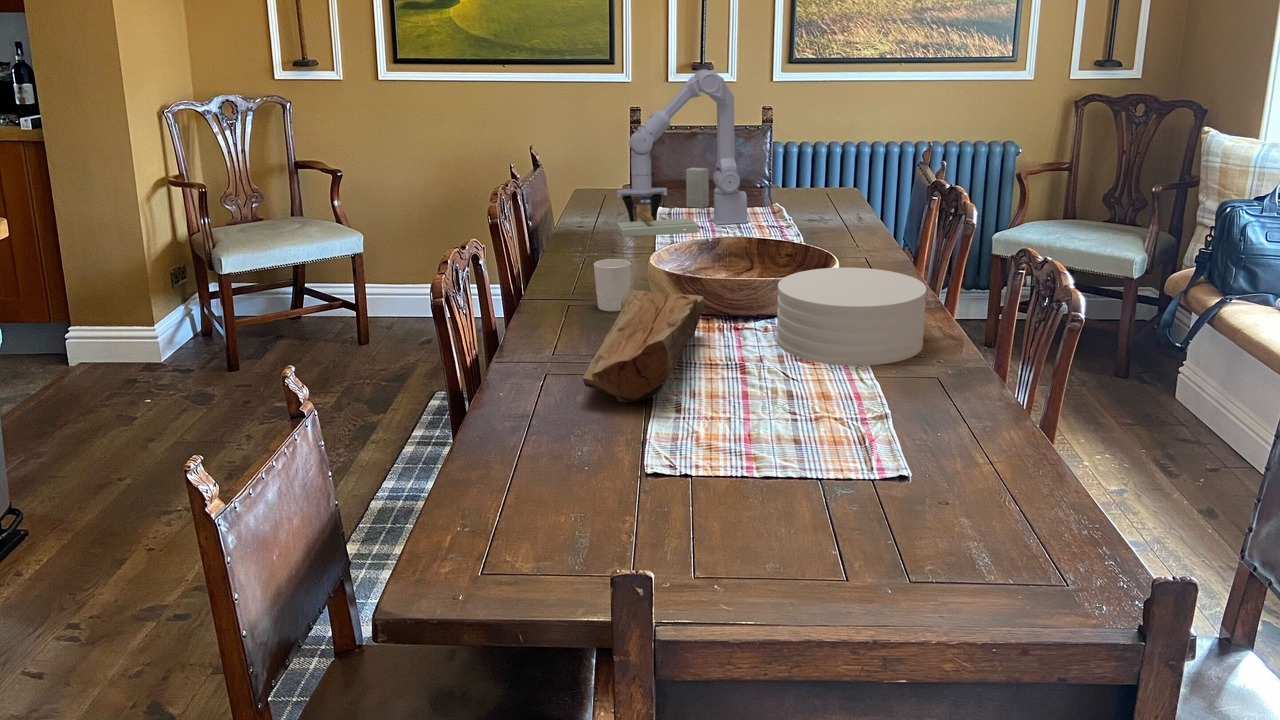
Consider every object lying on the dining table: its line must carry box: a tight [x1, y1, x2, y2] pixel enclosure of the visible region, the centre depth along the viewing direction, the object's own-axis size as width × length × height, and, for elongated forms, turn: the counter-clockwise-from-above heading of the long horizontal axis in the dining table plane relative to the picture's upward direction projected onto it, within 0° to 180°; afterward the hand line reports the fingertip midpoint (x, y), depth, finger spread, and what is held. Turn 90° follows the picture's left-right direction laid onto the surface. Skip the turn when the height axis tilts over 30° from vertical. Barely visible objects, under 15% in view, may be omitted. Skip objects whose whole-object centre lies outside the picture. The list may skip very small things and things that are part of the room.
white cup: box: [593, 258, 631, 313], centre depth 235 cm, size 8×8×10 cm
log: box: [582, 289, 705, 403], centre depth 197 cm, size 42×18×15 cm, turn 167°
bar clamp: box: [633, 196, 652, 210], centre depth 334 cm, size 32×2×10 cm
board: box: [616, 218, 700, 238], centre depth 308 cm, size 22×10×2 cm, turn 100°
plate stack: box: [776, 267, 927, 366], centre depth 208 cm, size 28×28×12 cm
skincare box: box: [685, 167, 710, 209], centre depth 339 cm, size 6×4×12 cm
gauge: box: [633, 202, 653, 222], centre depth 310 cm, size 4×12×6 cm, turn 13°
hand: (642, 220), depth 315 cm, fingers open, 6 cm apart
